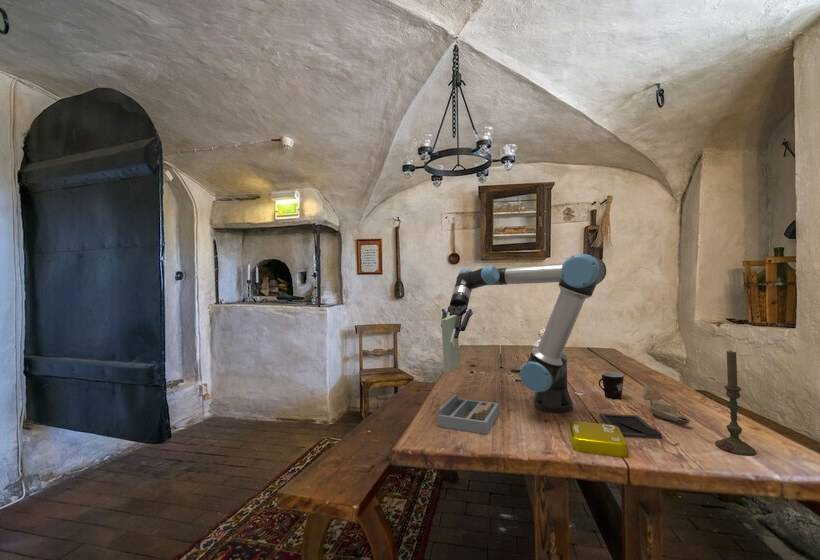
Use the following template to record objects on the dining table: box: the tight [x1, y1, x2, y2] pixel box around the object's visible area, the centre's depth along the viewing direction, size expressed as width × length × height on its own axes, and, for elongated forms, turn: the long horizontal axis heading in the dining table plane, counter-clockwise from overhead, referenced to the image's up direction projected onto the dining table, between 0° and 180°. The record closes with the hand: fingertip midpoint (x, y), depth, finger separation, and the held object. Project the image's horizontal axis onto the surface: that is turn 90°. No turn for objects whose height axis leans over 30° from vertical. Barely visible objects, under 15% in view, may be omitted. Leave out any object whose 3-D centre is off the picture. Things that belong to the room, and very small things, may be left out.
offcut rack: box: [437, 393, 500, 435], centre depth 134 cm, size 18×21×6 cm
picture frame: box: [598, 413, 663, 440], centre depth 124 cm, size 13×2×18 cm
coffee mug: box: [598, 371, 625, 400], centre depth 156 cm, size 12×9×10 cm
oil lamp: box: [642, 382, 691, 426], centre depth 131 cm, size 9×21×10 cm, turn 179°
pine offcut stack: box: [474, 403, 491, 421], centre depth 133 cm, size 4×9×6 cm, turn 154°
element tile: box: [568, 420, 628, 458], centre depth 112 cm, size 15×15×5 cm
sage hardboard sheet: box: [440, 315, 460, 374], centre depth 138 cm, size 2×13×20 cm, turn 154°
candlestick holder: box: [714, 349, 757, 457], centre depth 107 cm, size 9×9×30 cm
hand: (448, 344), depth 135 cm, fingers closed on sage hardboard sheet, 2 cm apart
